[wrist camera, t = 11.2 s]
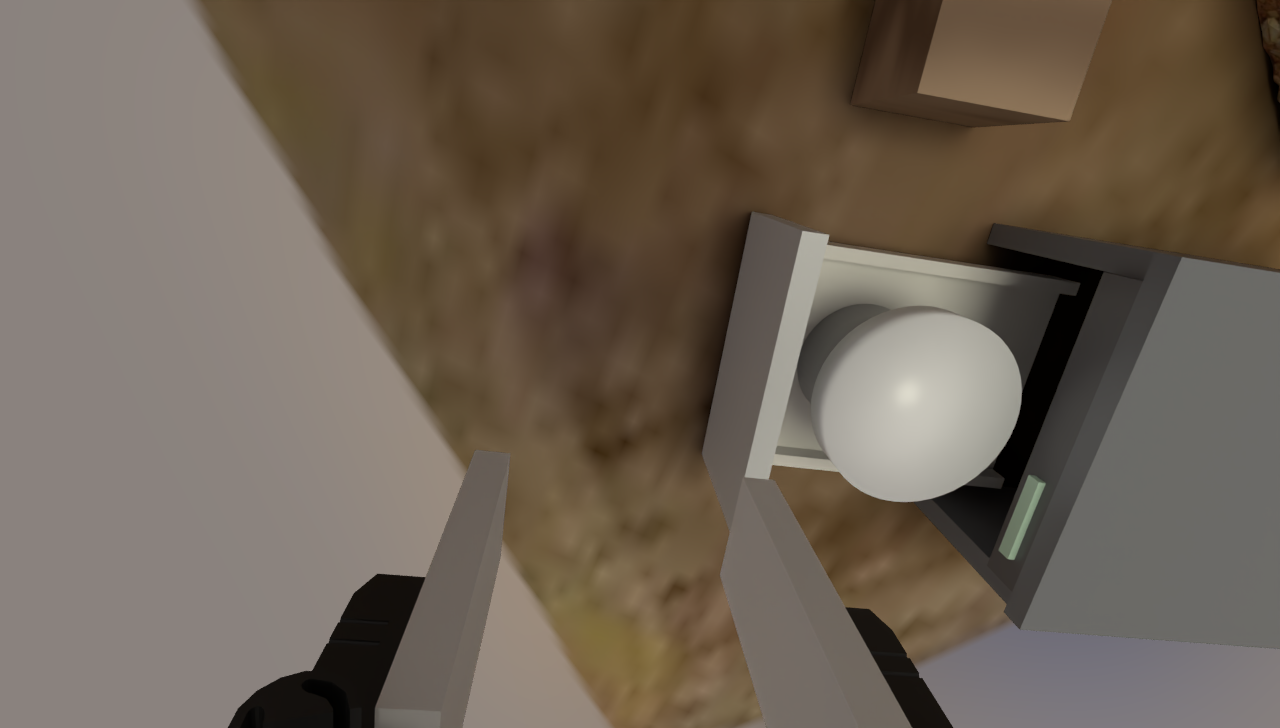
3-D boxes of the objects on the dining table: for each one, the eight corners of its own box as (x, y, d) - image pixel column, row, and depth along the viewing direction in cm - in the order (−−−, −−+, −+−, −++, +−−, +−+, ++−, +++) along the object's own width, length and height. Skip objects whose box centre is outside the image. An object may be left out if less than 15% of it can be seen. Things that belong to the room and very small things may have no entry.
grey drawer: (752, 211, 28) (802, 231, 21) (1056, 259, 30) (1191, 290, 23) (701, 453, 32) (731, 534, 25) (973, 482, 34) (1068, 564, 27)
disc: (839, 292, 24) (856, 301, 22) (1023, 320, 25) (1052, 331, 23) (790, 472, 26) (802, 491, 25) (960, 491, 27) (981, 511, 26)
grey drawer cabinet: (978, 220, 30) (1174, 255, 20) (1269, 267, 31) (1579, 321, 22) (891, 490, 34) (1012, 628, 24) (1148, 517, 36) (1357, 654, 26)
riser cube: (887, -50, 25) (972, -107, 20) (1018, -21, 26) (1136, -69, 20) (849, 104, 27) (917, 92, 22) (973, 127, 28) (1069, 121, 22)
